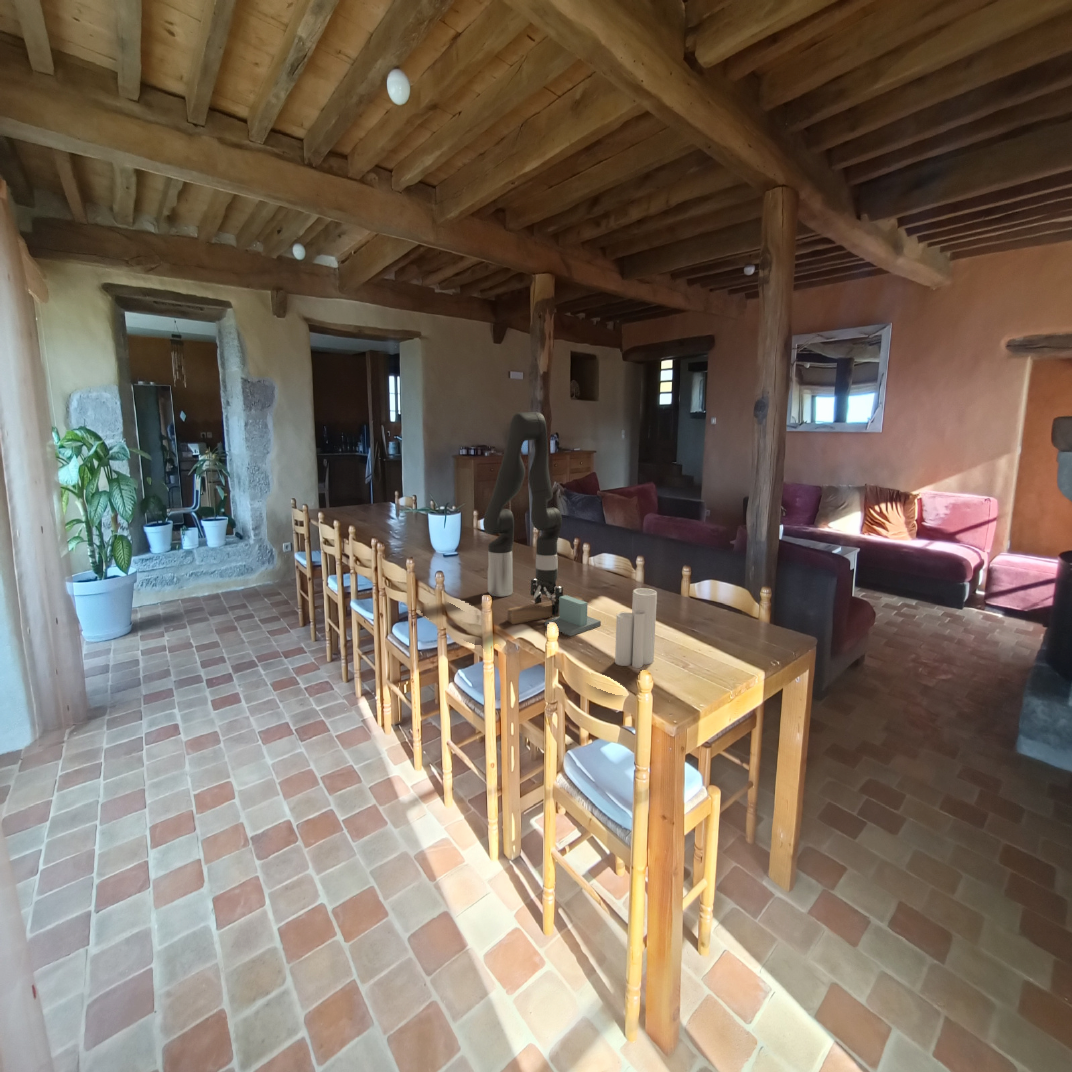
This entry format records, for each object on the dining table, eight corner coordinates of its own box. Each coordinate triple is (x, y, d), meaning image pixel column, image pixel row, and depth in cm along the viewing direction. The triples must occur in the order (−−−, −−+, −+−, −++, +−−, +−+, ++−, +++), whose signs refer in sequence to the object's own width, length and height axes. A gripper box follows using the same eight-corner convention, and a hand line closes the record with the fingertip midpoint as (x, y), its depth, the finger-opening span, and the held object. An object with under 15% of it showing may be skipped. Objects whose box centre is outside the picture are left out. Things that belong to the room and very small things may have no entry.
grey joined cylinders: (642, 652, 157) (645, 587, 153) (659, 662, 151) (663, 593, 147) (611, 661, 152) (613, 593, 148) (628, 671, 146) (630, 600, 142)
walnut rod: (507, 621, 183) (507, 608, 182) (576, 608, 196) (577, 596, 195) (513, 625, 180) (513, 612, 179) (583, 611, 193) (583, 599, 192)
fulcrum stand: (544, 625, 178) (545, 599, 176) (574, 616, 187) (575, 591, 185) (570, 636, 169) (570, 609, 168) (600, 625, 178) (601, 599, 177)
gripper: (524, 564, 187) (525, 608, 190) (552, 572, 177) (552, 619, 180) (541, 560, 192) (540, 604, 195) (569, 568, 181) (568, 614, 185)
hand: (546, 611), depth 188 cm, fingers open, 8 cm apart
